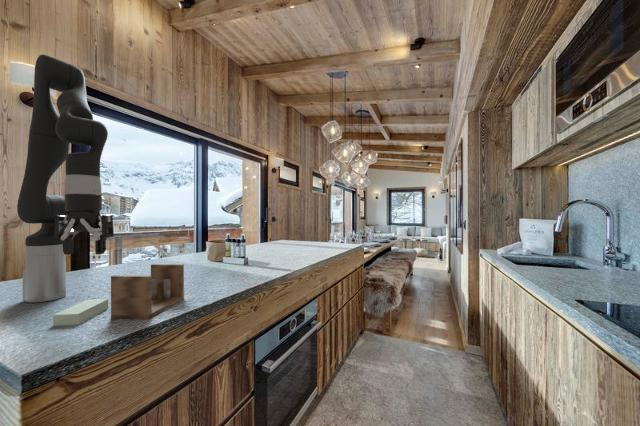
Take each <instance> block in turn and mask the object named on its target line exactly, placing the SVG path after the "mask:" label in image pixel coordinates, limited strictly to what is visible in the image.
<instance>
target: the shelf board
mask: <svg viewBox="0 0 640 426" xmlns="http://www.w3.org/2000/svg"><path fill="white" fill-rule="evenodd" d="M108 309H109V298H101V299H100V298H99V299H98V298H97V299H85V300H84V301H82V302H79V303H77V304H75V305H72V306H70V307H68V308H66V309H64V310H61V311H59V312H57V313H54V314H53V315H52V326H53V327H55V326H76V325H77V326H79V325H80V324H82V323H85V321H87V320H89V319H91V318H93V317H95V316H96V315H98V314H100V313H102V312H104V311H106V310H108Z"/></svg>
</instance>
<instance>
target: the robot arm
mask: <svg viewBox="0 0 640 426" xmlns="http://www.w3.org/2000/svg"><path fill="white" fill-rule="evenodd" d="M33 79H34V81H33V105H32V106H33V107H32V113H31V120H30V127H29V134H28V142H27V155H26V163H25V167H24V168H25V170H24V175H23V179H22V183H21V187H20V191H19V195H18V200H17V205H16V210H17V216H18V217H19V219H20V220H21V221H22V222H23V223H26V224H35V225H36V224H41V226H40V229H38V230H37V231H36V232H34V233H32V234H29V235H27V236H26V238H25V244H24V245H25V269H23V270H22V302H23V301H24V302H25V303H43V302H49V301H55V300H58V299H62V298H64V297H66V296H67V290H66V289H67V258H66V256H68V255H73V254H74V253H75V240H74V238H75V236H76V235H78V234H79V233H80V232H89V234H91V235H92V236H93V237H94V238H95V242H94V245H95V246H94V247H95V255H103V254H105V252H106V250H107V239H109V238H113V237H114V236H115V234H114V233H115V232H114V219H113V215H112V214H102V215H101V211H102V209H103V206H102V204H103V203H102V202H103V200H102V193H103V192H102V182H101V159H102V155H103V151H104V148H105V145H106V143H107V139H108V137H109V136H108V135H109V131H108V128H107V127H106V125H105V124H104V123H103V122H101V121H99V120H96V119H95V120H94V117H93V113H92V111H91V108H90V106H89V104H88V99H87V87H86V79H85V75H84V72H83V71H82V69H80V68H79V67H78V66H76V65H74V64H71V63H67V62H66V61H63V60H60V59H58V58H55V57H52V56H50V55H47V54H40V55H38V57H37V58H36V61H35V65H34V75H33ZM51 90H54V91H57V92H60V94H59V95H58V96H57V99H56V107H55V105H54V102H53V99H52V96H51ZM56 108H57V109H58V111H57V110H56ZM71 144H74V145H79V146H80V145H81V146H89V150H88V151H85V152H81V151H80V152H70V151H69V150H70V145H71ZM69 152H70V153H69ZM64 162H65V179H64V196H62V195H57V194H47V193H48V187H49V182H50V180H51V178H52V177H53V175H54V174H55V172H56V171H57V170H58V169H60V167H62V165H63V163H64ZM100 223H101V224H100Z"/></svg>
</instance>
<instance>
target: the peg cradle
mask: <svg viewBox="0 0 640 426" xmlns="http://www.w3.org/2000/svg"><path fill="white" fill-rule="evenodd" d="M184 265H185V264H183V263H181V264H180V263H179V264H178V263H174V264H173V263H171V264H170V263H169V264H168V263H152V264H150V275H126V274H125V275H120V274H119V275H116V274H115V275H111V276H110V319H111V320H150V319H152V318H154V317H155V316H157V315H159V314H160V313H162V312H164V311H165V310H168V309H169V308H171V307H172V306H174V305H176V304H177V303H179V302H181V301H183V300H184V299H185V296H184V295H185V294H184V293H185V286H184V285H185V281H184V280H185V274H184V273H185V266H184Z"/></svg>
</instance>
